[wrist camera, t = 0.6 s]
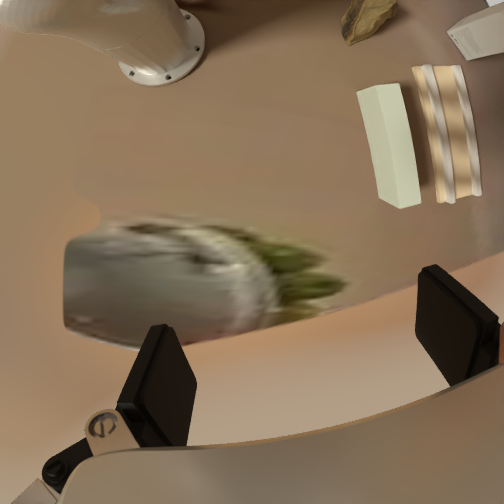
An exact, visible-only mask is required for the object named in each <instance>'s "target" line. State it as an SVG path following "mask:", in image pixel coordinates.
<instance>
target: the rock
mask: <svg viewBox="0 0 504 504" xmlns="http://www.w3.org/2000/svg"><path fill="white" fill-rule="evenodd" d="M396 2H397V1H396V0H352V2H351V4H350V7H349V8H348V9H347V11H346V13H345V14H344V15H343V17H342V19H341V30H342V35H343V38H344V40H345V41H346V44H347V45H348V46H351V45H352V44H353V43H355V42H358V41H360V40H364V39H366V38H367V39H368V38H369V37H370V36H371V35H373V34H374V33H375V32H376V31H377V30H378V28H379V27H380V26H381V25H382V24H383V23H384V22H385V20H386V19H389V18H391V17H393V16H394V15H395V13H396V8H397V6H398V4H397V3H396Z"/></svg>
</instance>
